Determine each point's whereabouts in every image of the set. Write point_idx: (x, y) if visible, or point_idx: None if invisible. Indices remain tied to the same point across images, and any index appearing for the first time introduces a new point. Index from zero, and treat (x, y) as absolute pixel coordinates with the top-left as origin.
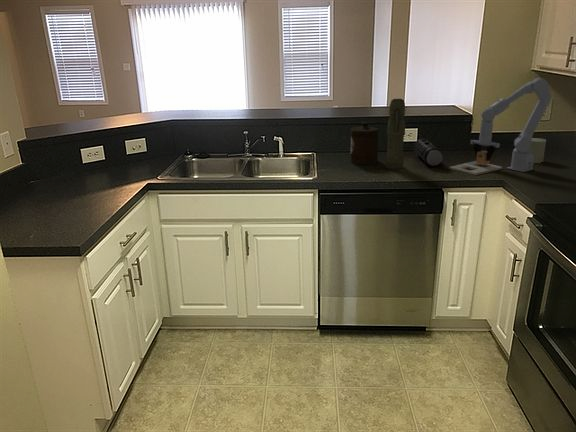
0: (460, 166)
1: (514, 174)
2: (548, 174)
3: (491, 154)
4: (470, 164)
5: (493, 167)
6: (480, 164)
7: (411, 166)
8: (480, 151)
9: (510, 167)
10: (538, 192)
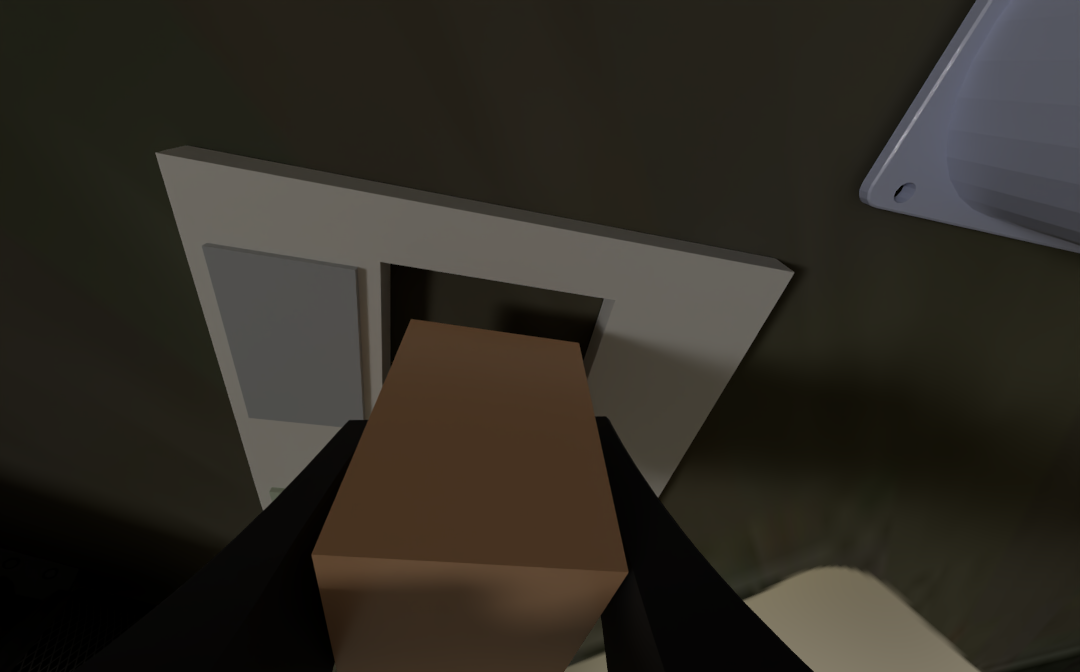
0: None
1: (941, 398)
2: None
3: (661, 530)
4: (337, 424)
5: (673, 377)
6: (387, 267)
7: None
8: (365, 637)
9: (940, 151)
10: (1032, 610)
